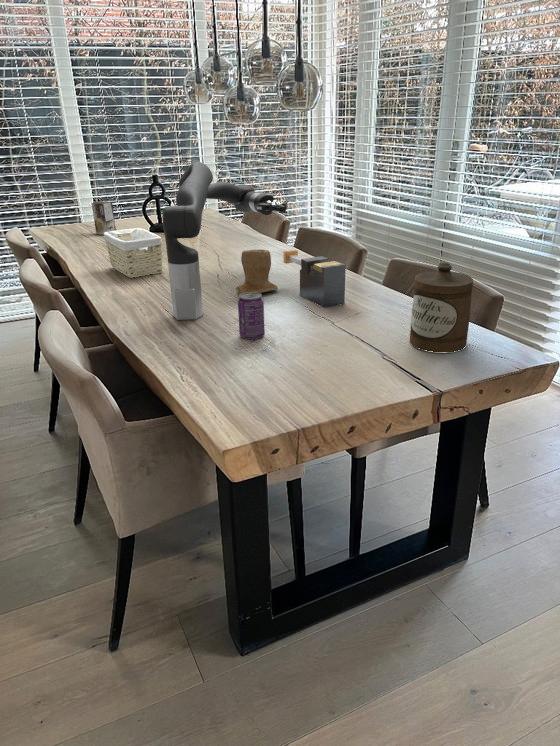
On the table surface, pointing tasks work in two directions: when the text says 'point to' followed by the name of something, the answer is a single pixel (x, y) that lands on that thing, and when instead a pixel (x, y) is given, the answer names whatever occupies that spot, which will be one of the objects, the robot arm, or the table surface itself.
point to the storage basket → (135, 252)
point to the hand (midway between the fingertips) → (283, 209)
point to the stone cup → (256, 272)
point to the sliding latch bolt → (293, 257)
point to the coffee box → (103, 217)
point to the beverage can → (251, 315)
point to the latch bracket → (322, 281)
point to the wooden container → (441, 310)
